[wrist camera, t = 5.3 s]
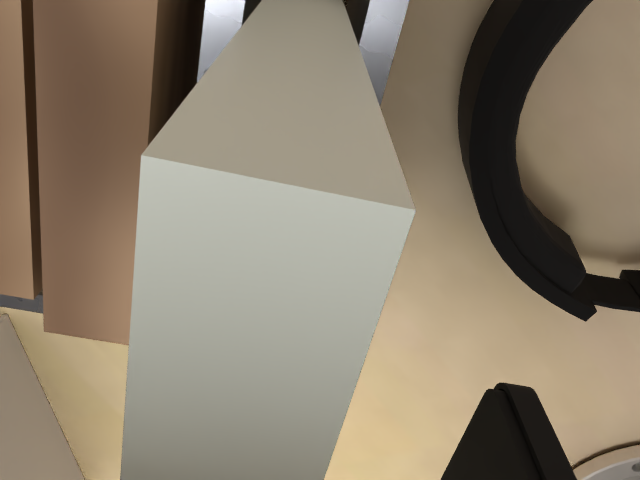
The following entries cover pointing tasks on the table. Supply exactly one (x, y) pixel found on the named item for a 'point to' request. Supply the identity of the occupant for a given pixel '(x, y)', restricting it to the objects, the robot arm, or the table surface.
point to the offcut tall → (102, 144)
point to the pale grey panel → (261, 255)
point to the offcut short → (19, 154)
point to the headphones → (500, 156)
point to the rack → (231, 13)
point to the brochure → (28, 420)
